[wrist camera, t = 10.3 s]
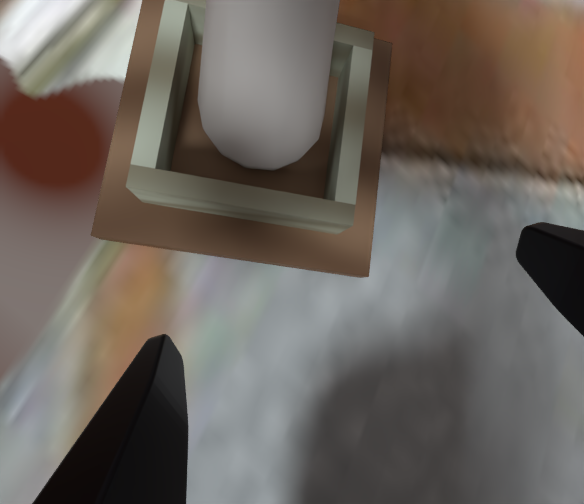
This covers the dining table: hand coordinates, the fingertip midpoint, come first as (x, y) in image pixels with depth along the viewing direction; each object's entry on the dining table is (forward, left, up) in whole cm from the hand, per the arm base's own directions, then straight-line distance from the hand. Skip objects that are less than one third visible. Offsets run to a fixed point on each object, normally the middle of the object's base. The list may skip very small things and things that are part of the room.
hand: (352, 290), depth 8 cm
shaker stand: (+8, +3, -10) cm, 14 cm away
